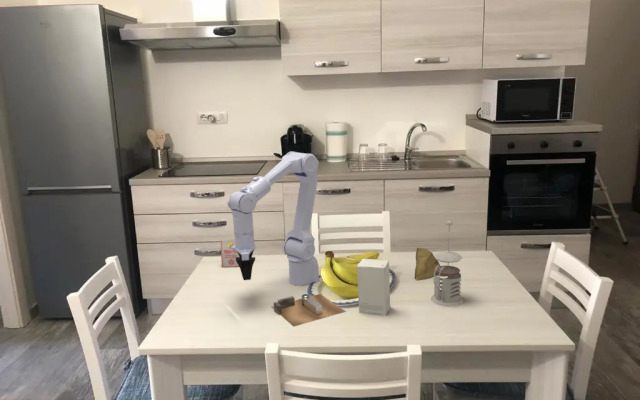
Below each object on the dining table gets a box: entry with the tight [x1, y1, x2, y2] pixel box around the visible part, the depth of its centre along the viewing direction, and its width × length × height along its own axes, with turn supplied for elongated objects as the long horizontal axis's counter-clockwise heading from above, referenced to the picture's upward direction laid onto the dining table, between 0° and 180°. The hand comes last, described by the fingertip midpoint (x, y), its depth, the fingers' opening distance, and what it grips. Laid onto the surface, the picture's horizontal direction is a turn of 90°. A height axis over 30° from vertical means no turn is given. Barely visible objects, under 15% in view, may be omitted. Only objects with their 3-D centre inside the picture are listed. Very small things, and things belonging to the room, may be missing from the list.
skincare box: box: [356, 258, 391, 316], centre depth 150 cm, size 8×7×16 cm
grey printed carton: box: [220, 239, 240, 269], centre depth 192 cm, size 4×7×10 cm, turn 91°
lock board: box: [271, 293, 347, 327], centre depth 153 cm, size 17×15×4 cm
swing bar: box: [301, 293, 322, 315], centre depth 153 cm, size 9×2×3 cm, turn 30°
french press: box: [430, 220, 464, 307], centre depth 155 cm, size 10×12×25 cm
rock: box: [414, 247, 441, 281], centre depth 177 cm, size 11×9×10 cm
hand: (246, 274), depth 157 cm, fingers open, 7 cm apart
